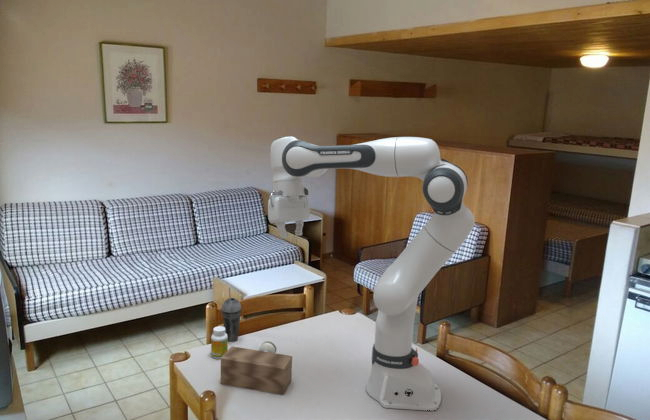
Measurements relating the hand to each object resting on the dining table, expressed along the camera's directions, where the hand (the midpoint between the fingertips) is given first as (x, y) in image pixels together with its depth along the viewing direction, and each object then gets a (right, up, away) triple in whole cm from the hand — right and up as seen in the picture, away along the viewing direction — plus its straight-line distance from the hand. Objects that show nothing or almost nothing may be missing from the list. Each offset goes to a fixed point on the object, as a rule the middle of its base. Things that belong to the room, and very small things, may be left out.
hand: (291, 236), depth 150 cm
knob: (-9, -40, +8) cm, 42 cm away
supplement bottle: (-26, -41, +18) cm, 52 cm away
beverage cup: (-24, -39, +30) cm, 54 cm away
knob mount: (-11, -45, +3) cm, 46 cm away
